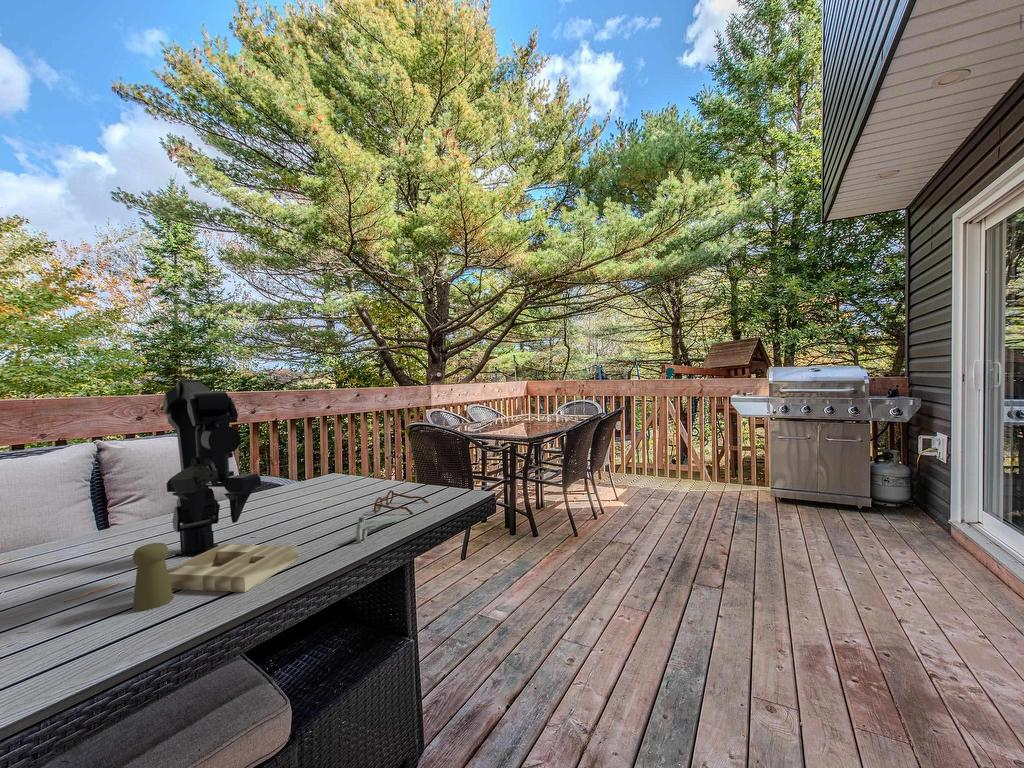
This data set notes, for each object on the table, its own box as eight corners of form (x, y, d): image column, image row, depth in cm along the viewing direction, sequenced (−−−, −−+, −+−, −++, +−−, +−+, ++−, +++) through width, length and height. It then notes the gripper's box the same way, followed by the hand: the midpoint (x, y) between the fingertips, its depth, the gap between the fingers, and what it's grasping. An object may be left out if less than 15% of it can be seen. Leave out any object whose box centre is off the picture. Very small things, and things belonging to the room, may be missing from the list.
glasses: (391, 503, 151) (390, 488, 151) (429, 503, 149) (428, 488, 149) (372, 515, 138) (372, 499, 138) (413, 516, 136) (413, 499, 136)
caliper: (360, 544, 113) (359, 519, 113) (356, 543, 113) (355, 518, 113) (402, 518, 133) (401, 497, 133) (399, 518, 133) (398, 497, 133)
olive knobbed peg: (140, 599, 88) (137, 542, 87) (178, 592, 90) (175, 537, 90) (126, 614, 82) (123, 553, 82) (167, 606, 84) (163, 547, 84)
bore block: (158, 588, 92) (157, 573, 92) (222, 557, 108) (221, 544, 108) (245, 592, 88) (244, 577, 88) (298, 559, 104) (297, 546, 104)
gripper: (139, 457, 92) (144, 534, 92) (219, 456, 89) (223, 536, 89) (188, 448, 103) (191, 517, 103) (260, 447, 100) (264, 518, 100)
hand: (216, 522), depth 99 cm, fingers open, 9 cm apart
